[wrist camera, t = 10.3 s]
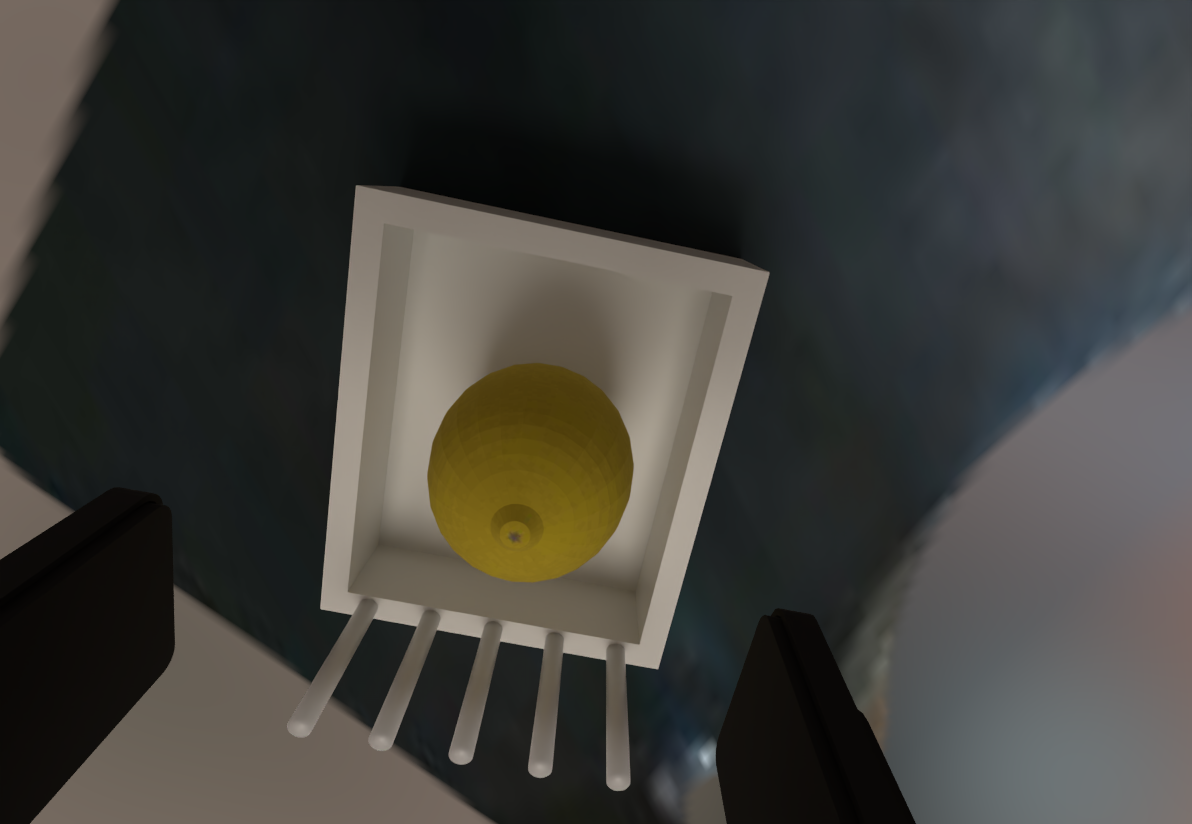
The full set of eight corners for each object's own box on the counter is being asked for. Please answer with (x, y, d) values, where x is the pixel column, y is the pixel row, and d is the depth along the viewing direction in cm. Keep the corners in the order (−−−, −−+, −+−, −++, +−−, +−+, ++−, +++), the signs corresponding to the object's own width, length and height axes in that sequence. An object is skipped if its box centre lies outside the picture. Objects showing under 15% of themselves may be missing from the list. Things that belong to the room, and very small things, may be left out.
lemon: (429, 425, 22) (338, 544, 15) (536, 302, 21) (497, 363, 13) (554, 525, 23) (530, 684, 16) (663, 414, 22) (694, 529, 14)
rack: (399, 186, 21) (259, 181, 12) (741, 259, 21) (830, 301, 13) (361, 548, 25) (237, 729, 16) (650, 600, 25) (672, 803, 17)
